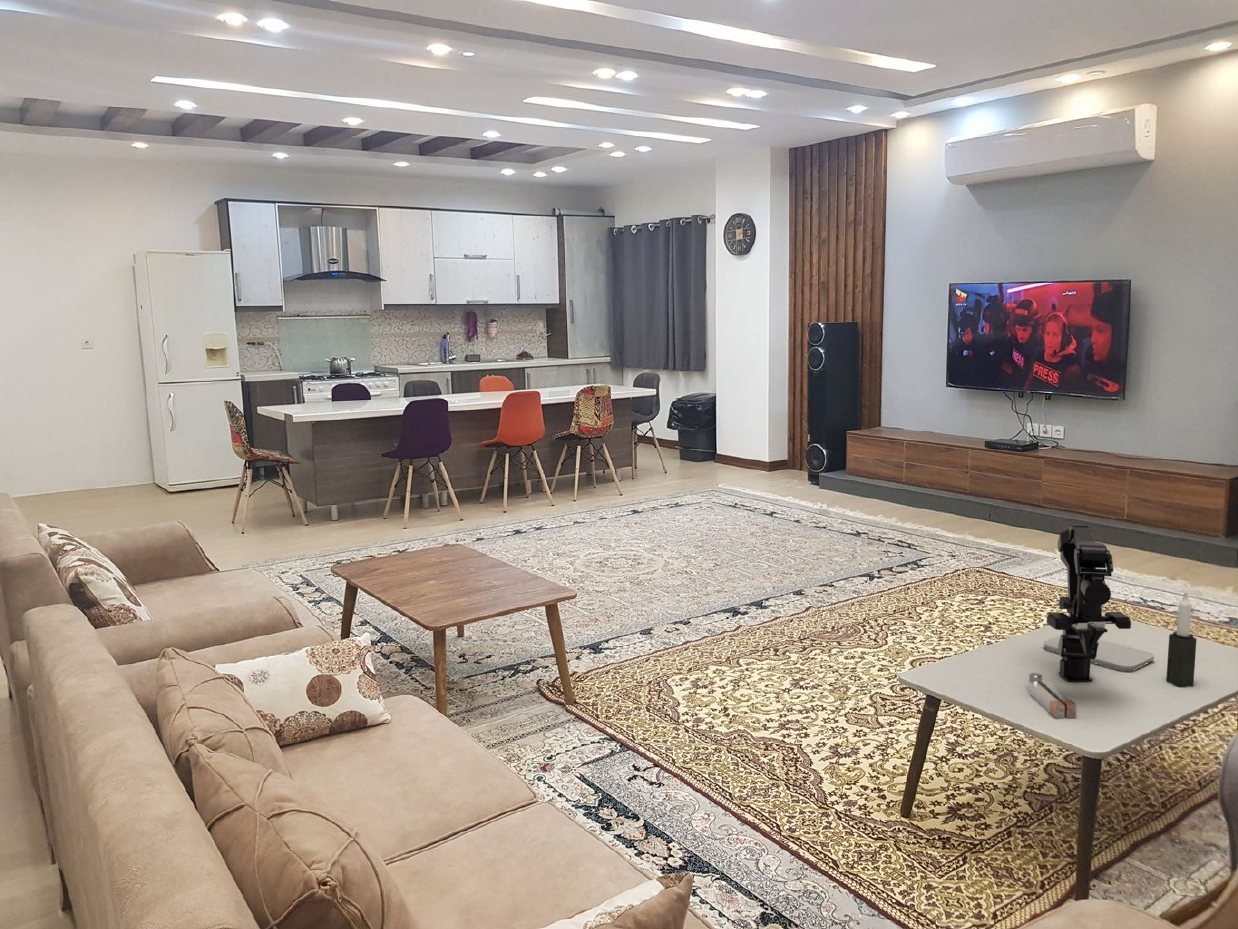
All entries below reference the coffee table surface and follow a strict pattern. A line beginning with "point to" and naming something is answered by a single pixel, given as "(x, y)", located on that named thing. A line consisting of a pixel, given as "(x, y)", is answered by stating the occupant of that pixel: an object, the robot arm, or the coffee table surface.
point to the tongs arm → (1060, 698)
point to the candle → (1182, 648)
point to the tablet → (1111, 655)
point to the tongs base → (1045, 696)
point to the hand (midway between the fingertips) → (1086, 653)
